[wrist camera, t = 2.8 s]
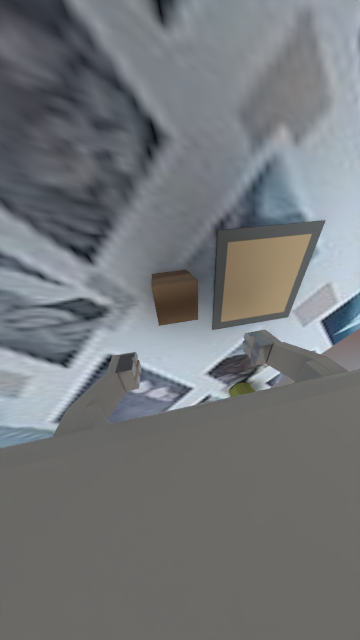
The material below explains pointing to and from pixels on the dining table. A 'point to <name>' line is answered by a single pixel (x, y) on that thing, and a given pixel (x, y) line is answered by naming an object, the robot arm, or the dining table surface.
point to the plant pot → (240, 389)
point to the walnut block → (175, 297)
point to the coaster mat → (260, 271)
